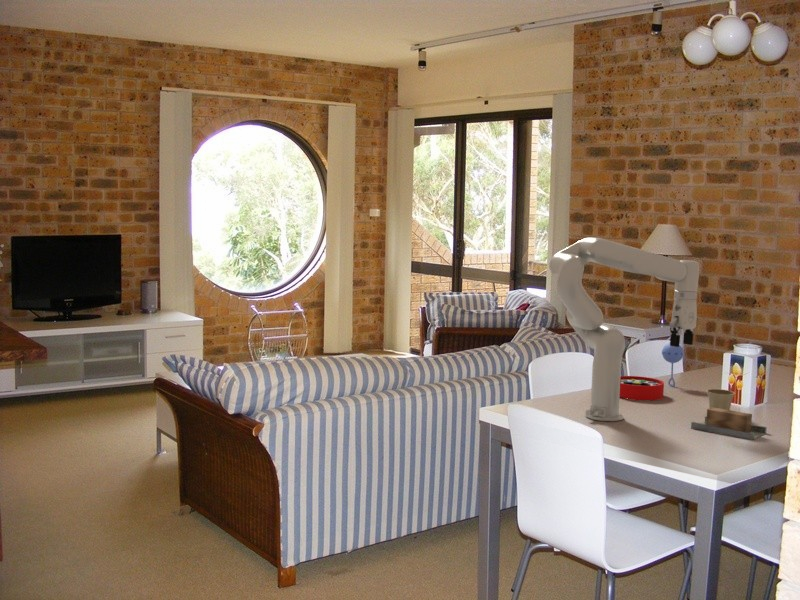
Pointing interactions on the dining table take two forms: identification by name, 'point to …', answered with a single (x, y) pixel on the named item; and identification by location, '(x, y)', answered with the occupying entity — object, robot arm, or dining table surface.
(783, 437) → the dining table surface
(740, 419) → the walnut block
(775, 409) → the dining table surface
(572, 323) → the robot arm
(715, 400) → the flower pot
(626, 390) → the toy clock
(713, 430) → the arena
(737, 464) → the dining table surface
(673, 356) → the baby rattle
